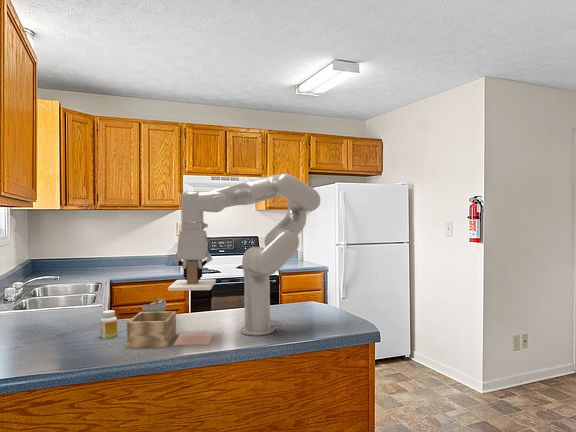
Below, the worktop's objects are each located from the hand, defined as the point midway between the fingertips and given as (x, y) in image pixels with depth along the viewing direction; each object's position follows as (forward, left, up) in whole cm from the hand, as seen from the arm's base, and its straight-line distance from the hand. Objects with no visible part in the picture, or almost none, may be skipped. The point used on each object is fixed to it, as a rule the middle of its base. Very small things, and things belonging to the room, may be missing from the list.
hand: (192, 278), depth 151 cm
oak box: (+14, +1, -22) cm, 26 cm away
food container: (+17, -18, -22) cm, 33 cm away
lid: (0, 0, -3) cm, 3 cm away
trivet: (0, 0, -22) cm, 22 cm away
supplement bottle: (+31, -5, -22) cm, 38 cm away
